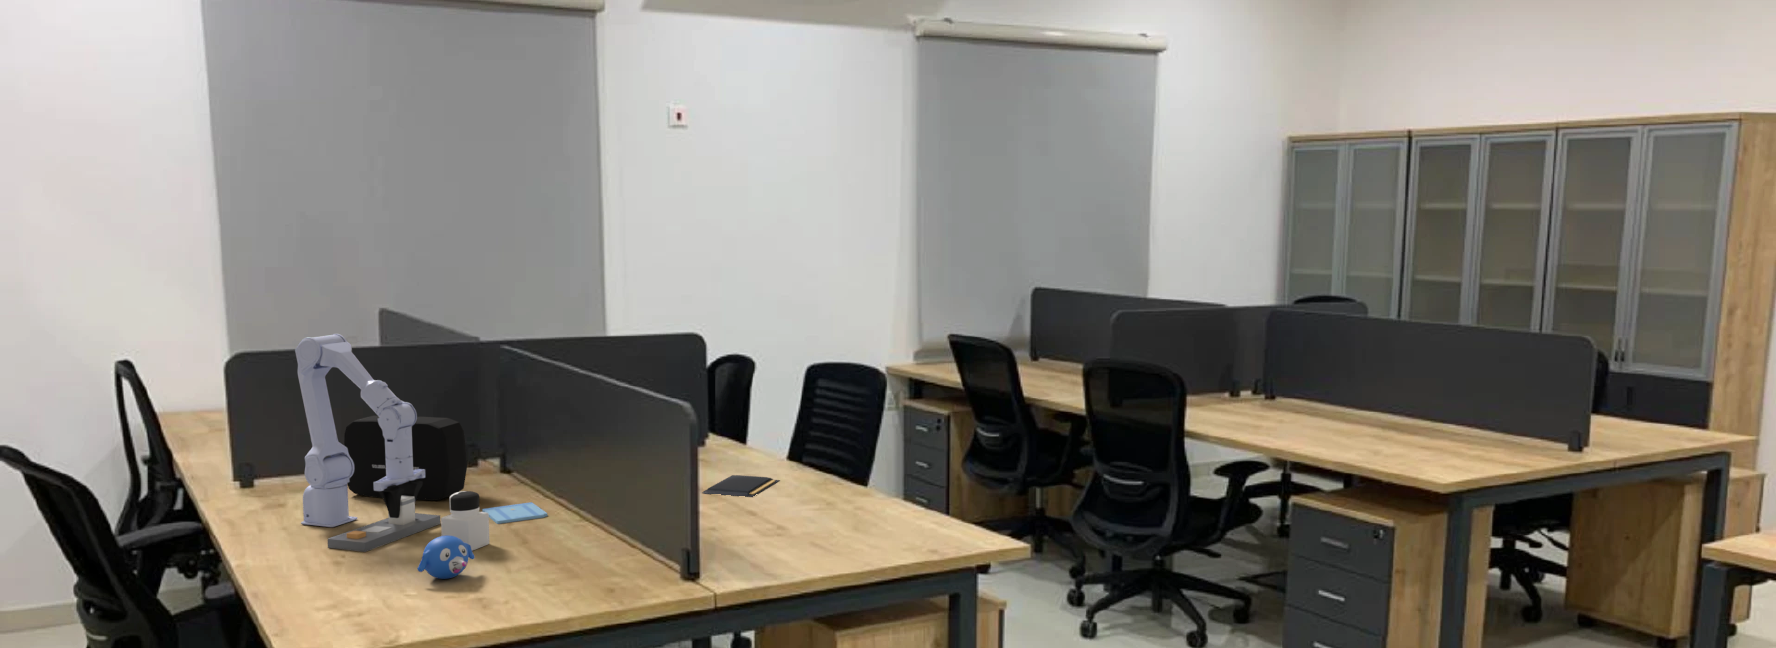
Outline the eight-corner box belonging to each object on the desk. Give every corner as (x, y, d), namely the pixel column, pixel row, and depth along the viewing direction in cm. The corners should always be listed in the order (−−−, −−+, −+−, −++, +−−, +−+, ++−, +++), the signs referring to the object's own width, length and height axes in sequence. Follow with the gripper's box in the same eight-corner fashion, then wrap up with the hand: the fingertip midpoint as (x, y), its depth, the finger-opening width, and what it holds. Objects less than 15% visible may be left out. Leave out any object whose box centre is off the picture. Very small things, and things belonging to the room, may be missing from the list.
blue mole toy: (437, 593, 223) (436, 550, 222) (407, 580, 231) (405, 539, 230) (494, 578, 232) (493, 537, 231) (463, 566, 240) (461, 526, 239)
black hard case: (344, 496, 300) (341, 419, 298) (376, 485, 311) (373, 411, 310) (448, 503, 292) (445, 424, 290) (476, 492, 304) (474, 416, 302)
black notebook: (731, 472, 322) (782, 476, 317) (731, 479, 322) (782, 483, 317) (698, 488, 303) (752, 493, 298) (698, 496, 303) (752, 500, 298)
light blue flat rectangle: (548, 518, 279) (548, 513, 279) (497, 526, 273) (497, 520, 273) (531, 507, 291) (531, 501, 290) (482, 513, 284) (482, 508, 284)
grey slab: (365, 551, 250) (364, 538, 250) (327, 547, 253) (327, 534, 253) (440, 523, 273) (440, 511, 272) (405, 520, 276) (405, 507, 276)
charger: (388, 524, 266) (387, 499, 266) (401, 520, 270) (400, 495, 270) (403, 526, 265) (402, 500, 264) (415, 522, 269) (414, 496, 268)
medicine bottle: (490, 544, 256) (488, 490, 255) (468, 553, 249) (466, 498, 248) (463, 541, 258) (461, 488, 257) (441, 549, 252) (439, 495, 251)
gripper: (390, 464, 258) (393, 524, 259) (435, 451, 272) (437, 508, 273) (364, 462, 260) (367, 521, 261) (410, 449, 274) (412, 506, 275)
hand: (401, 515), depth 267 cm, fingers closed on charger, 4 cm apart
